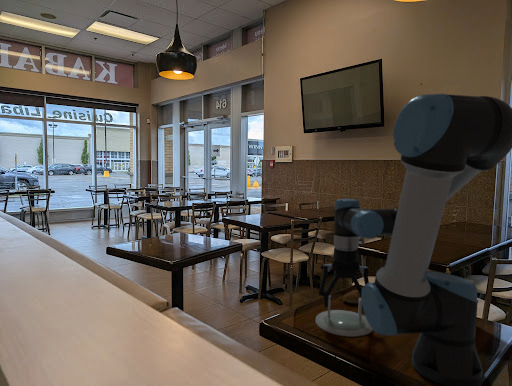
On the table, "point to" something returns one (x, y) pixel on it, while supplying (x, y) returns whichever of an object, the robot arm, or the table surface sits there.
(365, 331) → the serving plate
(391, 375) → the table surface
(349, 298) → the pastry
